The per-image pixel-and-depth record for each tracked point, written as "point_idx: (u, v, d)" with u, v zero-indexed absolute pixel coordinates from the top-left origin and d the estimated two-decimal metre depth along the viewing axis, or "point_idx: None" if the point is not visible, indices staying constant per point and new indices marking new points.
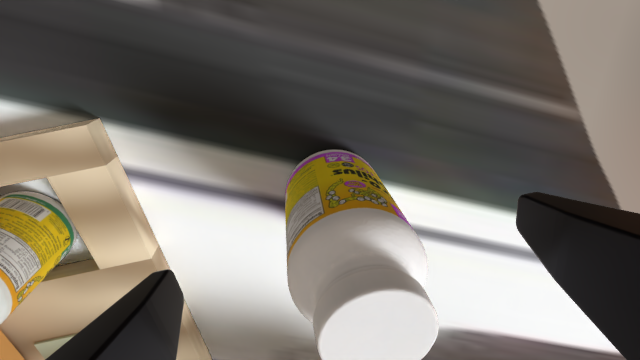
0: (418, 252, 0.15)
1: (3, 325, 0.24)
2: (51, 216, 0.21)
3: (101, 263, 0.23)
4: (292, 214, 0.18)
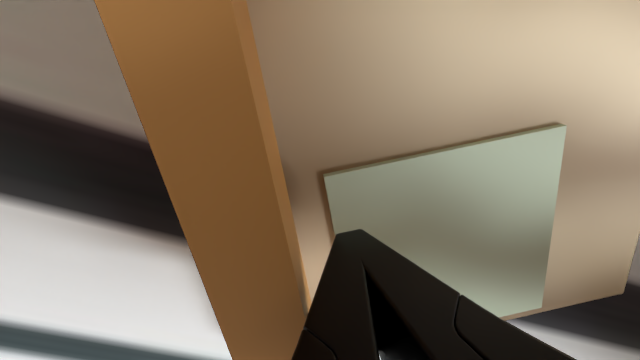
0: None
1: None
2: None
3: None
4: None
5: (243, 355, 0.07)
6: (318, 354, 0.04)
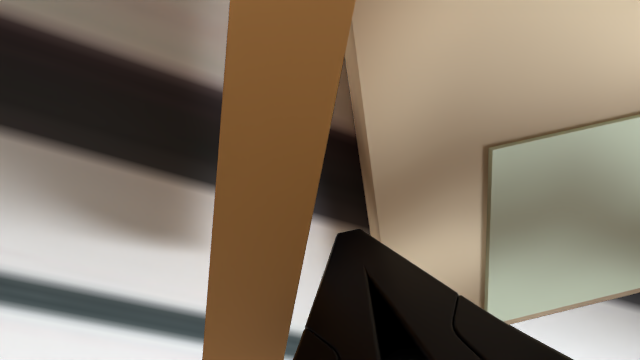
0: None
1: (449, 83, 0.09)
2: None
3: None
4: None
5: (217, 325, 0.06)
6: (320, 354, 0.04)
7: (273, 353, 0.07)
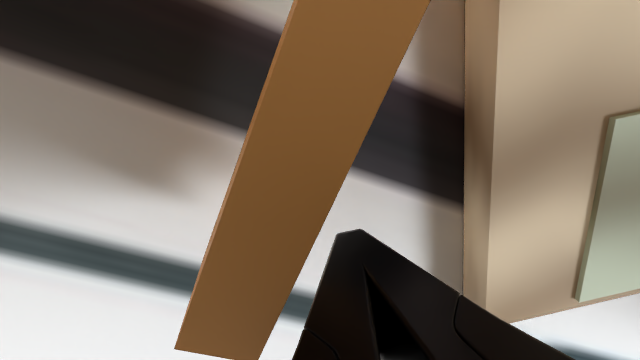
0: None
1: (583, 48, 0.09)
2: None
3: None
4: None
5: (227, 241, 0.05)
6: (319, 354, 0.04)
7: (278, 289, 0.06)
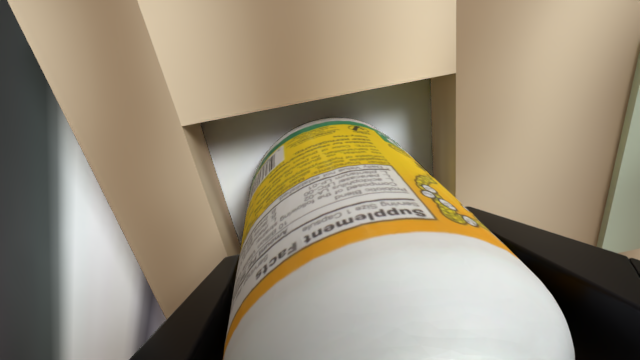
0: None
1: None
2: (288, 144, 0.09)
3: (438, 63, 0.08)
4: None
5: None
6: None
7: None
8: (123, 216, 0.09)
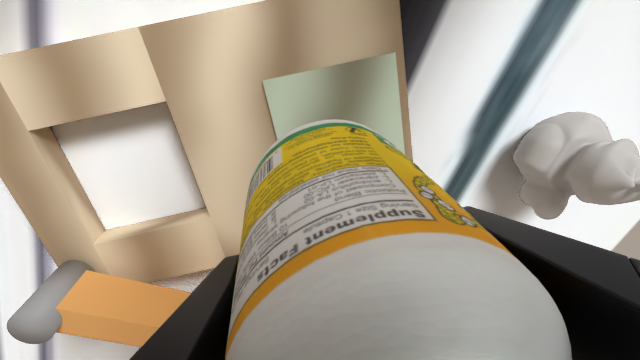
0: None
1: None
2: (286, 146, 0.09)
3: (155, 97, 0.17)
4: None
5: None
6: None
7: None
8: (5, 178, 0.18)
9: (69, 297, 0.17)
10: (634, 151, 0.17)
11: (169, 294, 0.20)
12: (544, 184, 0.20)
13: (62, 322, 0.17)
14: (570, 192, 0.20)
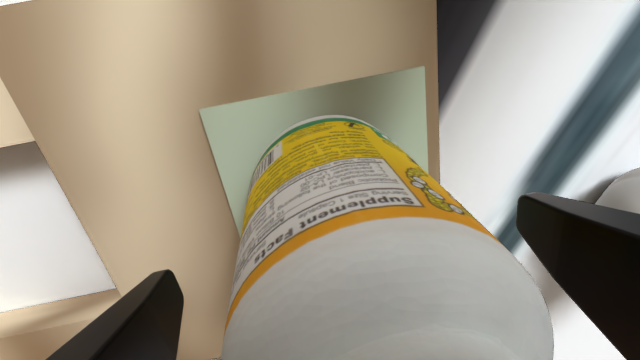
0: None
1: (212, 316, 0.14)
2: (286, 140, 0.09)
3: (14, 134, 0.10)
4: None
5: None
6: None
7: None
8: None
9: None
10: None
11: None
12: None
13: None
14: None
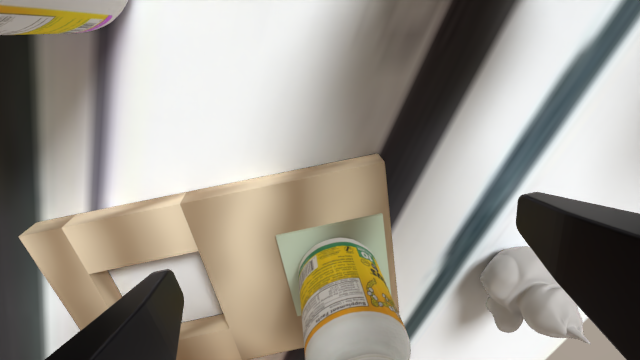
0: None
1: (272, 331, 0.25)
2: (318, 256, 0.20)
3: (190, 248, 0.21)
4: None
5: None
6: None
7: None
8: (67, 306, 0.22)
9: None
10: None
11: None
12: (504, 306, 0.24)
13: None
14: None
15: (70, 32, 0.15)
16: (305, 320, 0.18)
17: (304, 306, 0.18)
